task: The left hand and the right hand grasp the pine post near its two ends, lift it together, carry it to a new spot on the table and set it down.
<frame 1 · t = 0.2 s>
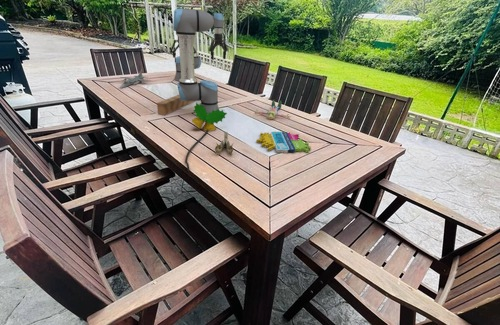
left hand: (218, 59, 239), 27 cm above the table, tool pointing down, fingers open, 13 cm apart
right hand: (184, 62, 211), 28 cm above the table, tool pointing down, fingers open, 13 cm apart
ornament: (209, 128, 165), on the table
sign: (281, 143, 152), on the table
jawbone: (224, 151, 138), on the table
toy: (273, 114, 198), on the table
post: (191, 101, 213), on the table
airplane: (134, 83, 250), on the table
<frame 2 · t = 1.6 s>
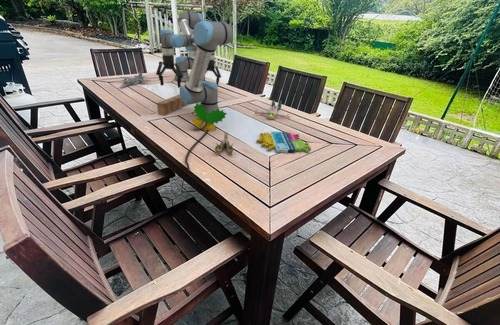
left hand: (210, 84, 237), 7 cm above the table, tool pointing down, fingers open, 13 cm apart
right hand: (170, 86, 189), 16 cm above the table, tool pointing down, fingers open, 13 cm apart
nothing on the table moved.
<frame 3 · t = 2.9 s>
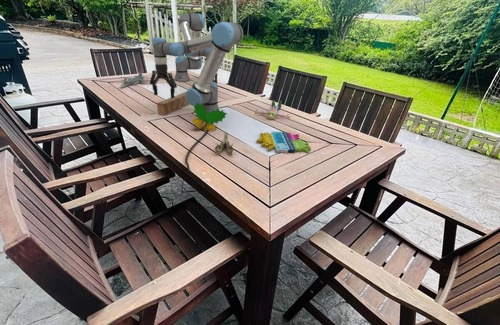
left hand: (210, 91, 240), 1 cm above the table, tool pointing down, fingers closed on post, 5 cm apart
right hand: (164, 96, 180), 12 cm above the table, tool pointing down, fingers open, 13 cm apart
post: (191, 101, 213), on the table, touching left hand
everything else where it was.
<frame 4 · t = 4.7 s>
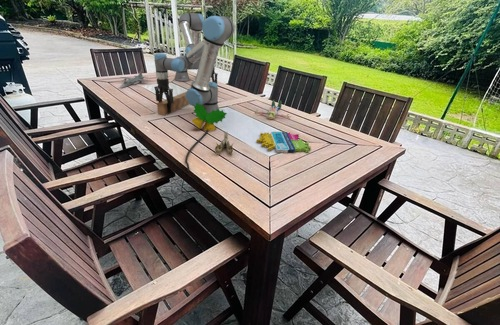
left hand: (210, 91, 240), 1 cm above the table, tool pointing down, fingers closed on post, 5 cm apart
right hand: (165, 111, 185), 1 cm above the table, tool pointing down, fingers closed on post, 5 cm apart
post: (191, 101, 213), on the table, touching right hand, left hand
everything else where it was.
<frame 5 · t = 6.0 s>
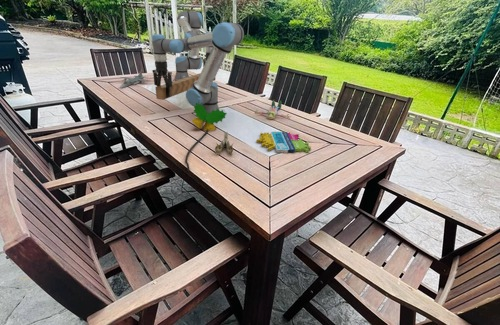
left hand: (210, 79, 235), 11 cm above the table, tool pointing down, fingers closed on post, 5 cm apart
right hand: (164, 96, 180), 11 cm above the table, tool pointing down, fingers closed on post, 5 cm apart
post: (190, 87, 208), point 11 cm above the table, touching right hand, left hand
everything else where it was.
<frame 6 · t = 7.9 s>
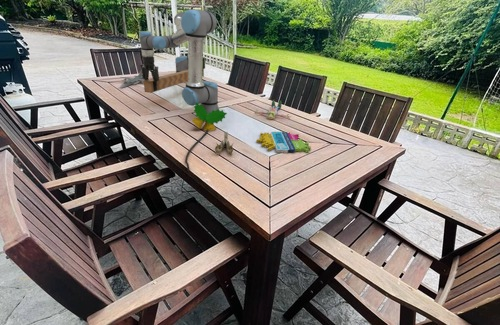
left hand: (198, 75, 248), 11 cm above the table, tool pointing down, fingers closed on post, 5 cm apart
right hand: (152, 89, 192), 12 cm above the table, tool pointing down, fingers closed on post, 5 cm apart
post: (178, 82, 220), point 11 cm above the table, touching right hand, left hand
everything else where it was.
when the left hand's fingers open (2 cm above the table, at t = 9.5 s): post drops 1 cm, on the table.
when the right hand's fingers open (2 cm above the table, at t = 9.5 s): post drops 1 cm, on the table.
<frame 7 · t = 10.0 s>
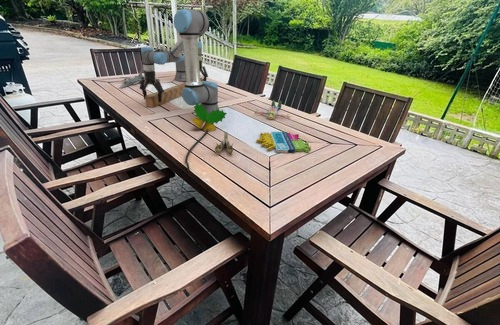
left hand: (198, 83, 251), 4 cm above the table, tool pointing down, fingers open, 12 cm apart
right hand: (152, 100, 196), 4 cm above the table, tool pointing down, fingers open, 12 cm apart
post: (178, 95, 225), on the table
everything else where it was.
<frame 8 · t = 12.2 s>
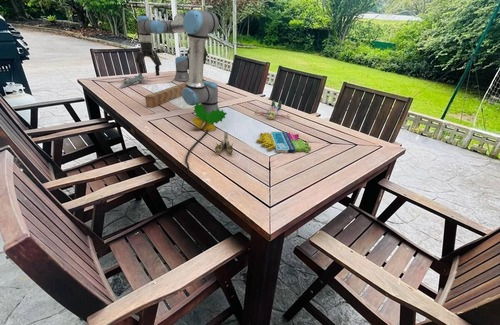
left hand: (197, 63, 242), 23 cm above the table, tool pointing down, fingers open, 13 cm apart
right hand: (149, 74, 187), 23 cm above the table, tool pointing down, fingers open, 13 cm apart
nothing on the table moved.
at the end: post inside the target area (0.0 cm from its centre), on the table; post tilted 0°; post never tilted more than 1° during the clip; both hands held the post at the same time; the left hand is holding nothing; the right hand is holding nothing; post at rest at the end (0.0 cm/s) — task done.
